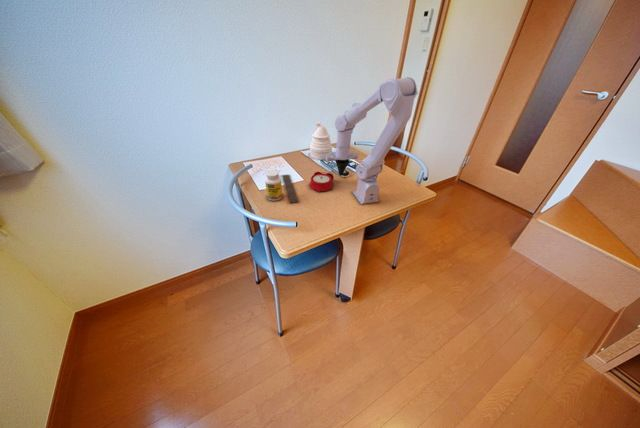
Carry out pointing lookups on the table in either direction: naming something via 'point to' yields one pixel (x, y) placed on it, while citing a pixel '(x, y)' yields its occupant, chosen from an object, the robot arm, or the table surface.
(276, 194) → the pill bottle
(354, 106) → the robot arm
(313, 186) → the alarm clock
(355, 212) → the table surface
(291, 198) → the ruler
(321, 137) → the honey pot
